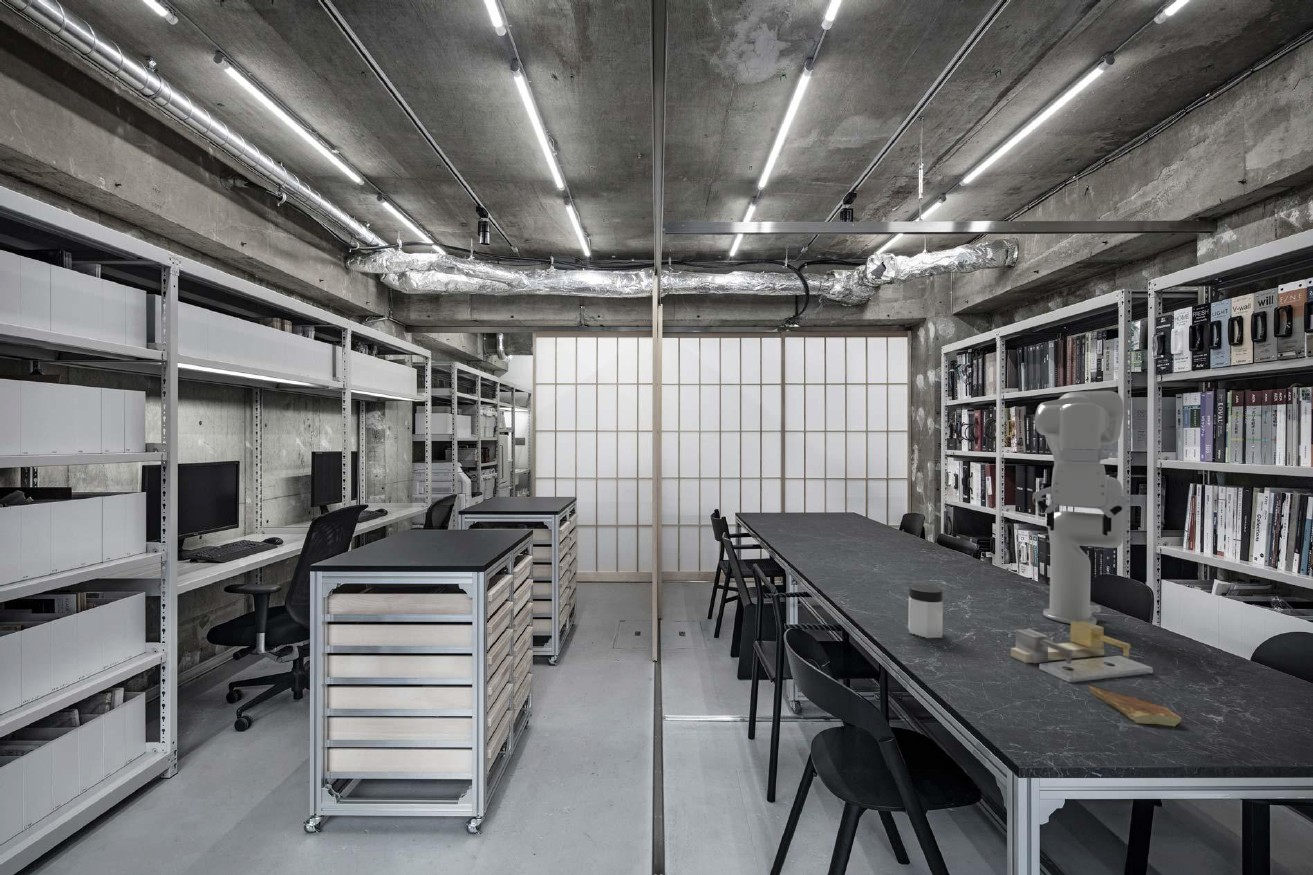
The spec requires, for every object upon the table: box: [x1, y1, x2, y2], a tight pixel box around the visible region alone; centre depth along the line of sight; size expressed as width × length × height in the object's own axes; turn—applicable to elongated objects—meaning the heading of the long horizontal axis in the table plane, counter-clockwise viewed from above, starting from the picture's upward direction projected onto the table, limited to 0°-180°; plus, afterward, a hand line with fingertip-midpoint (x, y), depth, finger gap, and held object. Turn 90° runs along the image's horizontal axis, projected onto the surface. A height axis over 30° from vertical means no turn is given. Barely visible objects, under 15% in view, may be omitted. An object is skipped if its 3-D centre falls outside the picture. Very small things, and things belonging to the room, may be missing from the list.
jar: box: [907, 584, 944, 639], centre depth 148 cm, size 9×8×12 cm
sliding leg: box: [1070, 621, 1131, 659], centre depth 132 cm, size 4×12×5 cm, turn 14°
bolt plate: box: [1038, 655, 1154, 683], centre depth 125 cm, size 24×7×1 cm, turn 104°
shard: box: [1087, 683, 1182, 727], centre depth 107 cm, size 13×9×2 cm
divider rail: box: [1010, 628, 1105, 664], centre depth 130 cm, size 24×12×6 cm, turn 104°
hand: (1077, 532), depth 126 cm, fingers open, 9 cm apart
